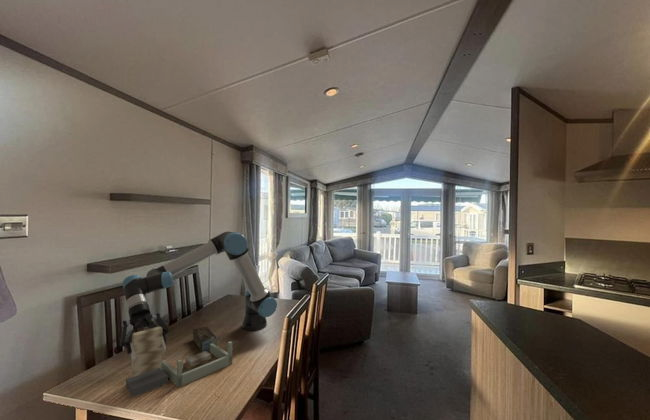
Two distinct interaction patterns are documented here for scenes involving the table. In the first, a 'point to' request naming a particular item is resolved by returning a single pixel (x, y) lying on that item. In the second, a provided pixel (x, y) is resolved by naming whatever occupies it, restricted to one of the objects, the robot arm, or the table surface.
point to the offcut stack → (196, 361)
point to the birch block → (147, 350)
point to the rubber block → (146, 382)
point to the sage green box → (201, 371)
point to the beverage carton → (204, 338)
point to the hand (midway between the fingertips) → (149, 355)
